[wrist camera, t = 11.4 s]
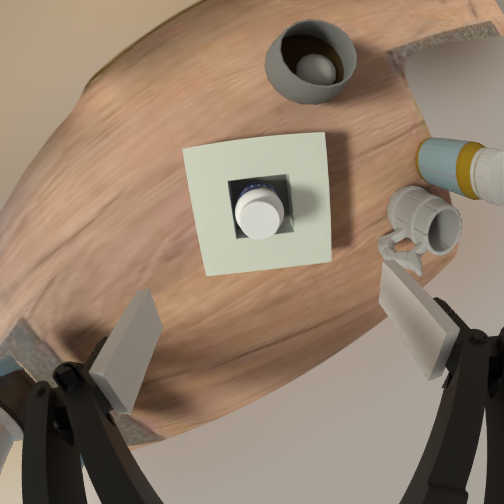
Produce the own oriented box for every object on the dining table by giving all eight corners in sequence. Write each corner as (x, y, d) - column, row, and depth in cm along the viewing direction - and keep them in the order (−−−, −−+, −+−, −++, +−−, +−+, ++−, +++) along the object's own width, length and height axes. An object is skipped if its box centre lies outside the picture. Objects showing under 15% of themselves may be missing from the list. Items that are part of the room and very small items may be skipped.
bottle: (420, 190, 35) (489, 219, 21) (407, 145, 32) (480, 156, 18) (451, 175, 33) (520, 198, 20) (440, 132, 31) (512, 140, 17)
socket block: (210, 262, 39) (206, 276, 35) (189, 147, 33) (182, 148, 29) (324, 249, 38) (331, 261, 35) (316, 132, 32) (324, 132, 28)
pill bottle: (278, 178, 34) (285, 192, 26) (280, 218, 36) (289, 243, 28) (235, 182, 34) (229, 197, 26) (240, 222, 36) (236, 248, 28)
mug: (433, 211, 36) (483, 238, 25) (381, 261, 39) (419, 303, 28) (411, 172, 34) (464, 190, 23) (354, 225, 37) (392, 262, 26)
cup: (344, 58, 28) (375, 35, 19) (325, 118, 31) (353, 112, 22) (275, 33, 27) (283, 0, 18) (253, 94, 30) (254, 77, 21)
